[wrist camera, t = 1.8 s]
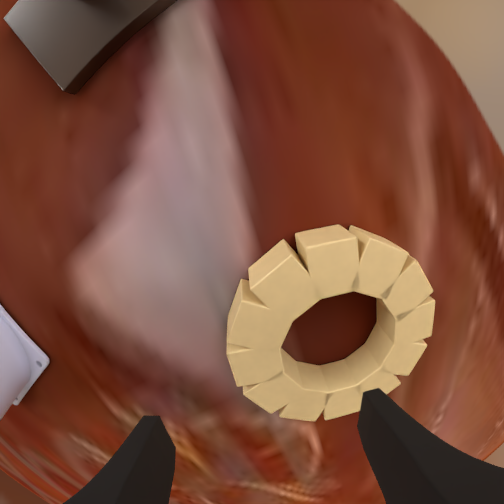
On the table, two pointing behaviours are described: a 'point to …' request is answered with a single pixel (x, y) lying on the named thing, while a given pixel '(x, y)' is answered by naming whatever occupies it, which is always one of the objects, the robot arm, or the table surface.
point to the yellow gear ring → (305, 296)
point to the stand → (78, 33)
